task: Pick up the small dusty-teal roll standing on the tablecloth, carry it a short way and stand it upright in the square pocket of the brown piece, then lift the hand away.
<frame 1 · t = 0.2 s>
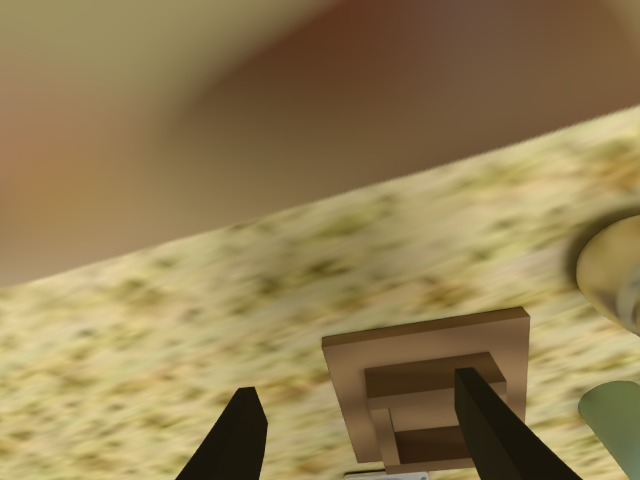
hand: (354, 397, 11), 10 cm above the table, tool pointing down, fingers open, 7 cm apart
plastic bottle: (615, 249, 19), on the table
brown piece: (427, 390, 25), on the table
roll: (611, 402, 25), on the table
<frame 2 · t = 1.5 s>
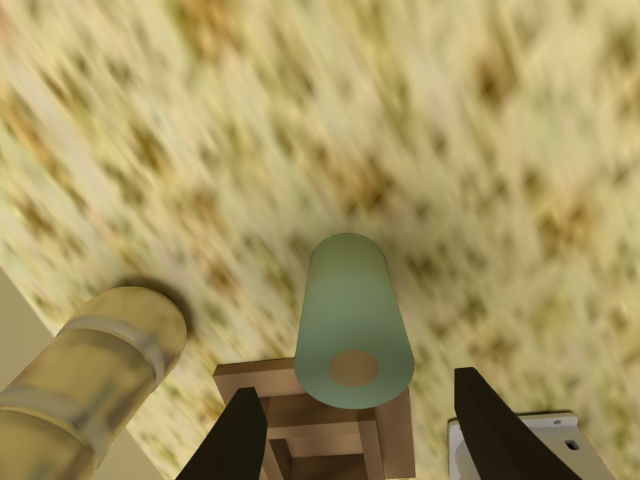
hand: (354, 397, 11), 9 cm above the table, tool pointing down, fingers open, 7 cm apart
plastic bottle: (152, 311, 22), on the table
brown piece: (322, 419, 26), on the table
roll: (347, 268, 20), on the table
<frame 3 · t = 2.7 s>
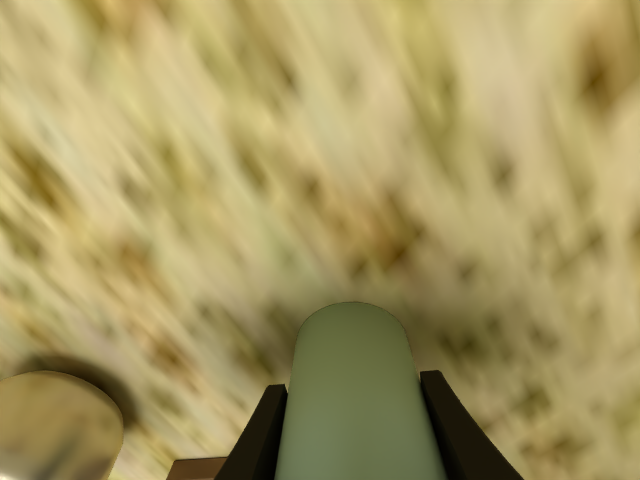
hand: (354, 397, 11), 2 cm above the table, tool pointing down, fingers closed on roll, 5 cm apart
plastic bottle: (79, 395, 16), on the table
roll: (351, 347, 13), on the table, touching gripper
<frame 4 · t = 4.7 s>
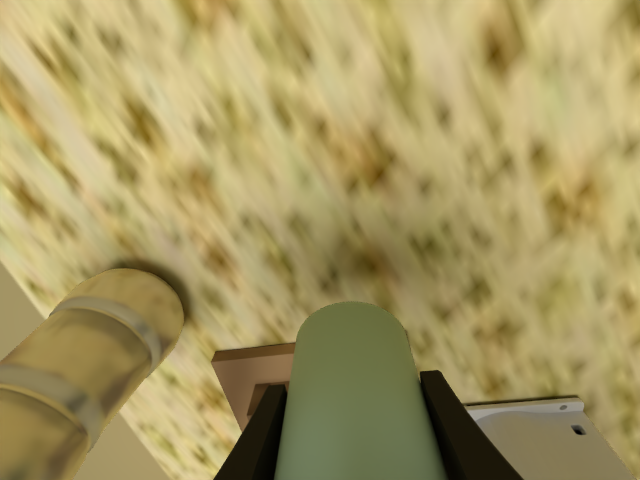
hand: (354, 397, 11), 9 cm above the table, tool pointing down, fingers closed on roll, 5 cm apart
plastic bottle: (148, 295, 22), on the table
brown piece: (324, 406, 25), on the table
roll: (351, 347, 13), point 7 cm above the table, touching gripper
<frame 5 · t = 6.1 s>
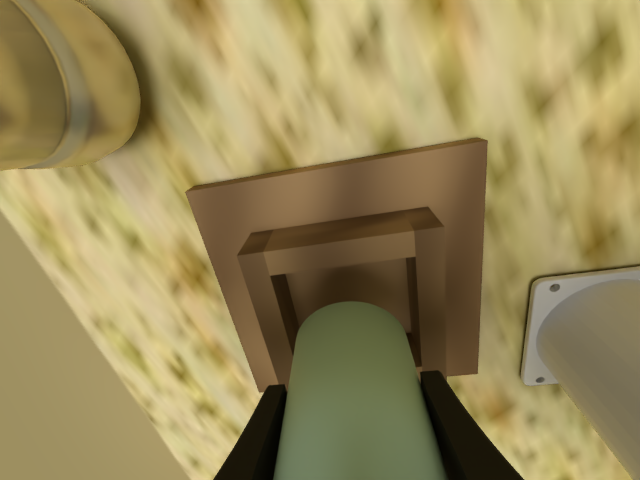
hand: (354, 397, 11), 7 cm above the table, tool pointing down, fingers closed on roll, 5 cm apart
plastic bottle: (90, 81, 14), on the table
brown piece: (348, 283, 18), on the table
roll: (351, 347, 13), point 5 cm above the table, touching gripper
when the fingers open (5 cm above the table, at t = 7.0 s): roll drops 1 cm, resting on brown piece.
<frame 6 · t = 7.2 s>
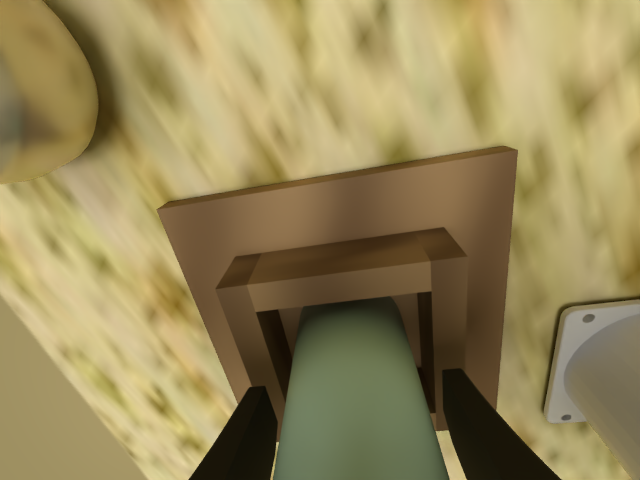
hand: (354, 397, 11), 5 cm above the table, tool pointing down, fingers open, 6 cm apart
plastic bottle: (41, 78, 12), on the table
brown piece: (349, 311, 16), on the table
roll: (350, 324, 15), point 1 cm above the table, touching brown piece
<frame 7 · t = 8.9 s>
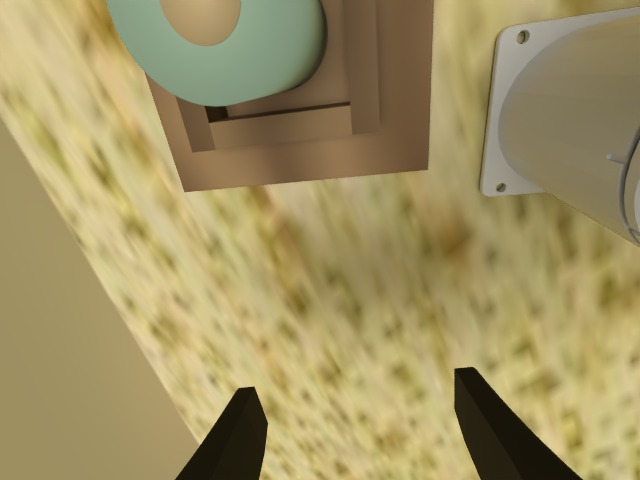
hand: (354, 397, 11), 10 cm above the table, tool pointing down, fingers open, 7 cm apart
brown piece: (280, 37, 15), on the table
roll: (276, 34, 14), point 1 cm above the table, touching brown piece
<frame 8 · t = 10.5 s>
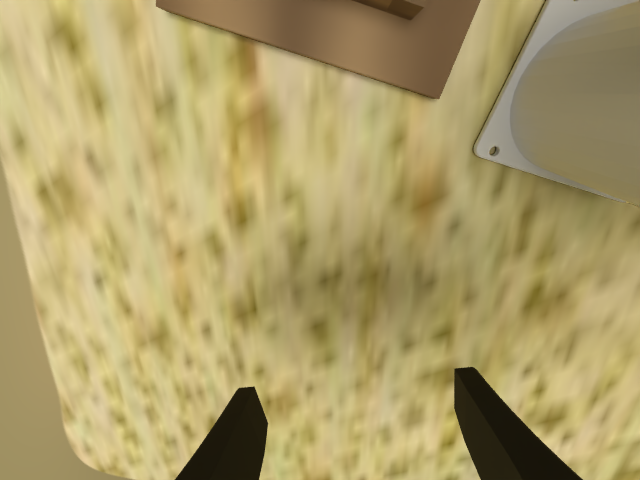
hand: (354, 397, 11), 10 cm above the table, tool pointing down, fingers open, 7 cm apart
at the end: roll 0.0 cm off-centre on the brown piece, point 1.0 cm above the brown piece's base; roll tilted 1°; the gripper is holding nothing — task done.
